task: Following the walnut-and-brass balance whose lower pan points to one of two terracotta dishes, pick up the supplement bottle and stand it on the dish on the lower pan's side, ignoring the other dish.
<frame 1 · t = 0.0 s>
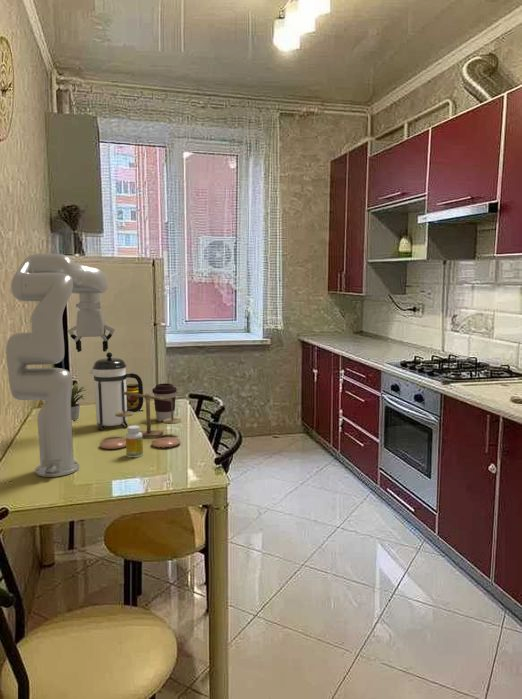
hand: (92, 351, 202), 31 cm above the table, tool pointing down, fingers open, 9 cm apart
supplement bottle: (134, 455, 175), on the table
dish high: (114, 446, 186), on the table
dish low: (166, 444, 187), on the table
coffee press: (115, 426, 213), on the table
coffee cup: (165, 420, 222), on the table
house plant: (72, 420, 222), on the table
condiment: (133, 410, 240), on the table
balance: (148, 435, 198), on the table
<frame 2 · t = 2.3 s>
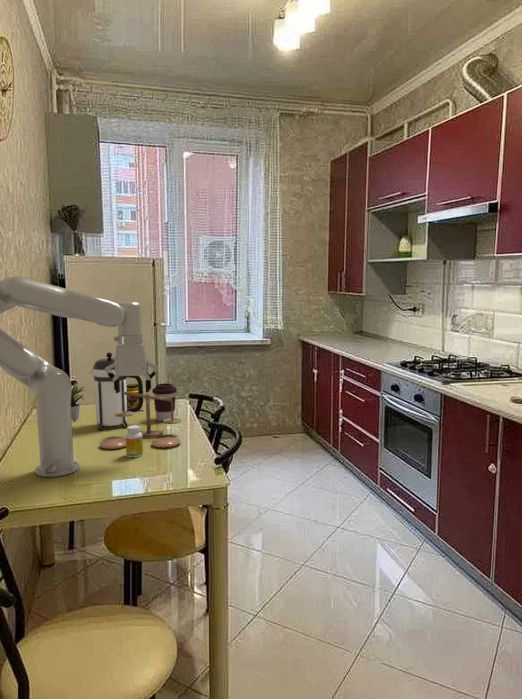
hand: (133, 392, 173), 21 cm above the table, tool pointing down, fingers open, 9 cm apart
nothing on the table moved.
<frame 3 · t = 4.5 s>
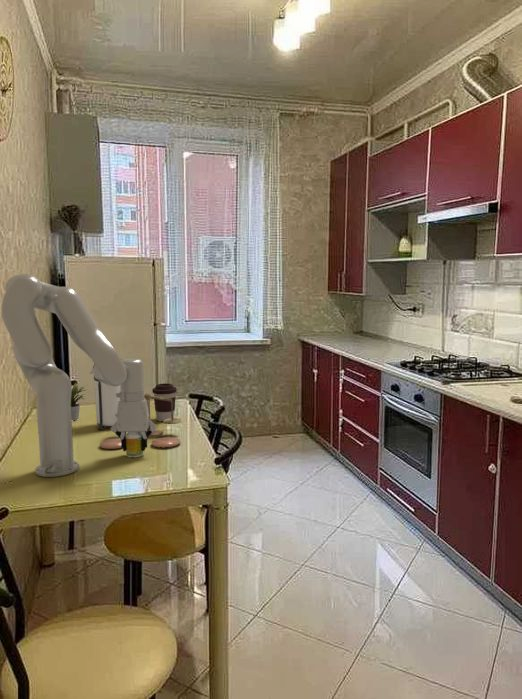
hand: (134, 449, 175), 2 cm above the table, tool pointing down, fingers closed on supplement bottle, 5 cm apart
supplement bottle: (134, 455, 175), on the table, touching gripper
everything else where it was.
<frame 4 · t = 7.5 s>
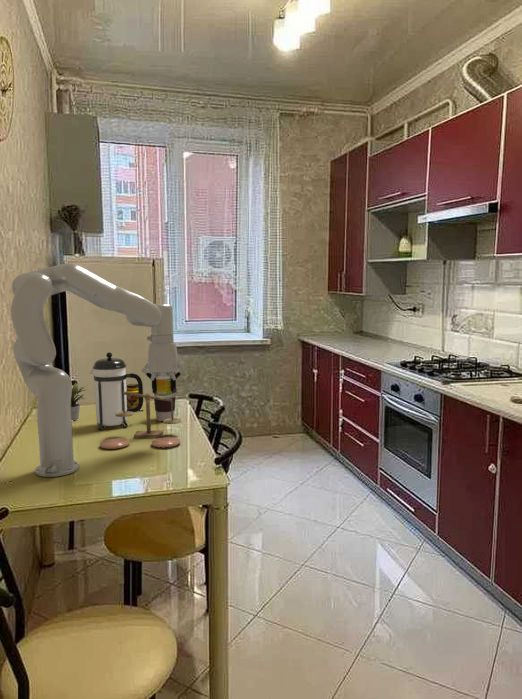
hand: (164, 390, 184), 20 cm above the table, tool pointing down, fingers closed on supplement bottle, 5 cm apart
supplement bottle: (164, 396, 184), point 17 cm above the table, touching gripper
everything else where it was.
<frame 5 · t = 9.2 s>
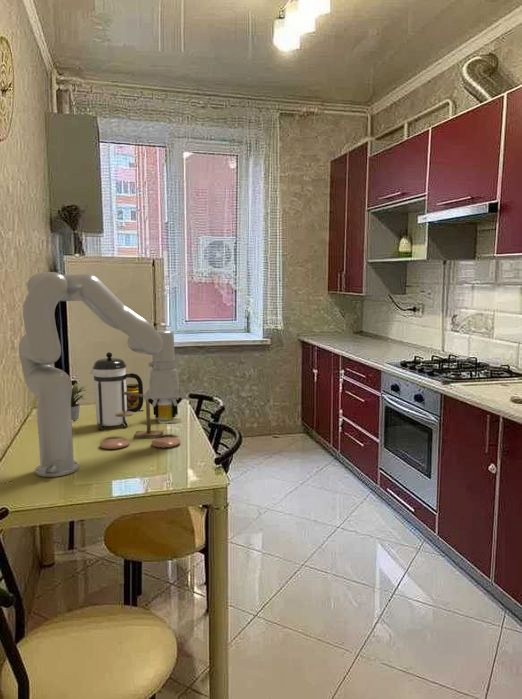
hand: (165, 416, 185), 10 cm above the table, tool pointing down, fingers closed on supplement bottle, 5 cm apart
supplement bottle: (165, 422, 186), point 8 cm above the table, touching gripper
everything else where it was.
when the fingers open (5 cm above the table, at t = 10.7 s): supplement bottle drops 1 cm, resting on dish low.
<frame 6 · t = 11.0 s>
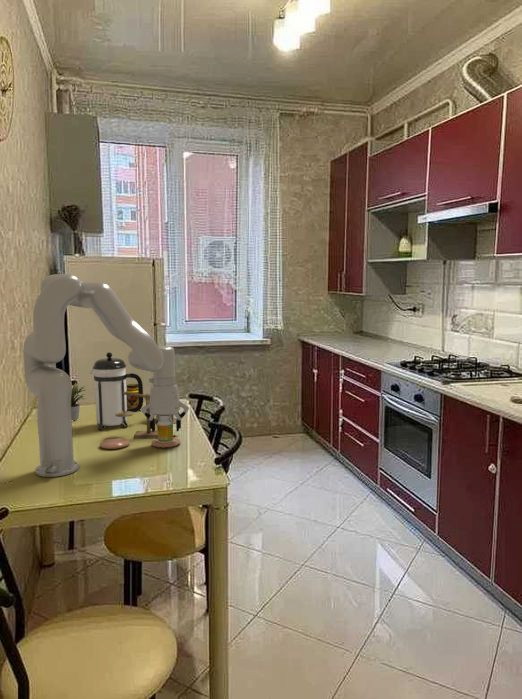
hand: (165, 430, 186), 5 cm above the table, tool pointing down, fingers open, 8 cm apart
supplement bottle: (165, 441, 186), point 1 cm above the table, touching dish low
everything else where it was.
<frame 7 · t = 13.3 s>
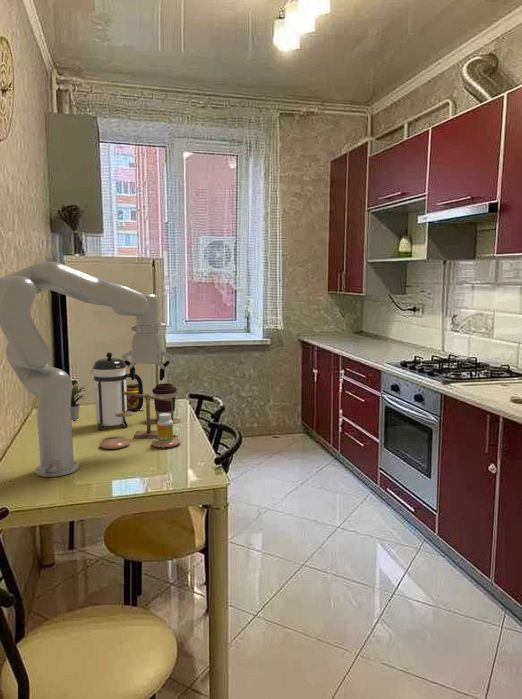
hand: (147, 379, 182), 24 cm above the table, tool pointing down, fingers open, 9 cm apart
nothing on the table moved.
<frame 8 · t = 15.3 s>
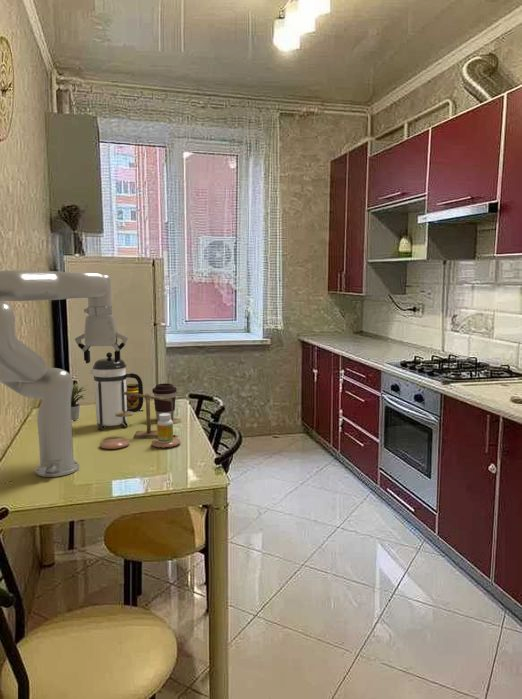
hand: (102, 362, 178), 30 cm above the table, tool pointing down, fingers open, 9 cm apart
nothing on the table moved.
at the end: supplement bottle 0.2 cm off-centre on the dish low, point 1.1 cm above the dish low's base; supplement bottle tilted 0°; the gripper is holding nothing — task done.
